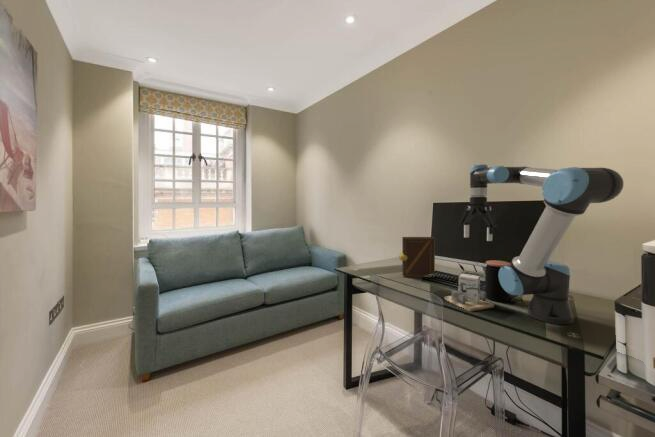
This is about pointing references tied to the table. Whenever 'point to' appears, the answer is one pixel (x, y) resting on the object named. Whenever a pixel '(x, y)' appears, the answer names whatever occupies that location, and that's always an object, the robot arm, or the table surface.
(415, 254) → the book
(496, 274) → the coffee jar
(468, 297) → the ink box
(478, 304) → the clip stand
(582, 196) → the robot arm
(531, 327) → the table surface
